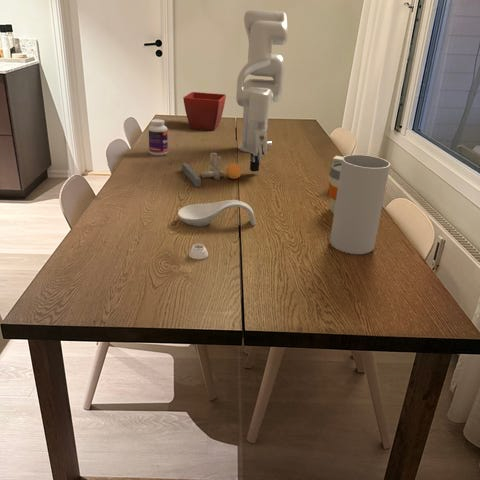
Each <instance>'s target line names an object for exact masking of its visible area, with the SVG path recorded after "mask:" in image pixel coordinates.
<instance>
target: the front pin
mask: <svg viewBox="0 0 480 480" xmlns="http://www.w3.org/2000/svg"><path fill="white" fill-rule="evenodd" d="M224 174H225V173H224V170H220V178H223V177H224V176H225V175H224ZM201 177H202V178H201ZM200 178H201V179H210V178H214V171H210V170H208V171H200Z"/></svg>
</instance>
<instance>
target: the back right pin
mask: <svg viewBox="0 0 480 480" xmlns="http://www.w3.org/2000/svg"><path fill="white" fill-rule="evenodd" d="M217 155H218V153H216V152H211V153H210V155H209V159H210V160H209V171H214V158H215V157H216V156H217Z"/></svg>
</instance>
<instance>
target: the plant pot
mask: <svg viewBox="0 0 480 480" xmlns="http://www.w3.org/2000/svg"><path fill="white" fill-rule="evenodd" d="M226 95H227V94H224V93H209V92H199V91H198V92H197V91H191V92H190V93H188V94H186V95H185V96H183V104H184V110H185V114H186V117H187V118H186V119H187V121H188V124H189V127H190V129H191V130H198V129H202V130H201V131H210V132H211V131H212V132H213V131H215V130H216V129H217V128H218V127H219V125H220V123H221V119H222V117H223V113H224V108H225V103H226V98H227V96H226Z"/></svg>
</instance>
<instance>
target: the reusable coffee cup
mask: <svg viewBox="0 0 480 480" xmlns="http://www.w3.org/2000/svg"><path fill="white" fill-rule="evenodd" d="M341 164H342V163H336V164H333V165H332V164H331V166H330V171H329V177H330V178H329V180H330V181H329V182H328V196H329V211H330V210H331V211H332V212H334V210H335V204H336V197H337V190H338V184H339V177H340V170H341ZM331 211H330V212H331ZM332 212H331V213H332Z"/></svg>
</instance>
